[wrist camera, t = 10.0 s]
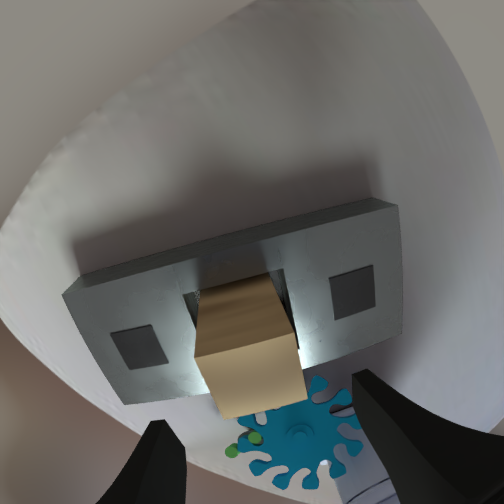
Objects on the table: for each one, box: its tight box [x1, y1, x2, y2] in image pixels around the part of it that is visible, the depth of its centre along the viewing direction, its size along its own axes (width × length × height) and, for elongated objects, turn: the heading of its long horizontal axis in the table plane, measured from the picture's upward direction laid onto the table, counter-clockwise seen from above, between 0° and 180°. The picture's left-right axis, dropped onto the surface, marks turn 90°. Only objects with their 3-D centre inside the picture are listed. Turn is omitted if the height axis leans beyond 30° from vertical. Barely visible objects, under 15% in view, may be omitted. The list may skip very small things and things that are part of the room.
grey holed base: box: [62, 198, 403, 405], centre depth 18 cm, size 9×20×3 cm, turn 104°
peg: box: [194, 272, 308, 420], centre depth 15 cm, size 4×4×8 cm
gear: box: [225, 375, 364, 490], centre depth 21 cm, size 11×6×10 cm
